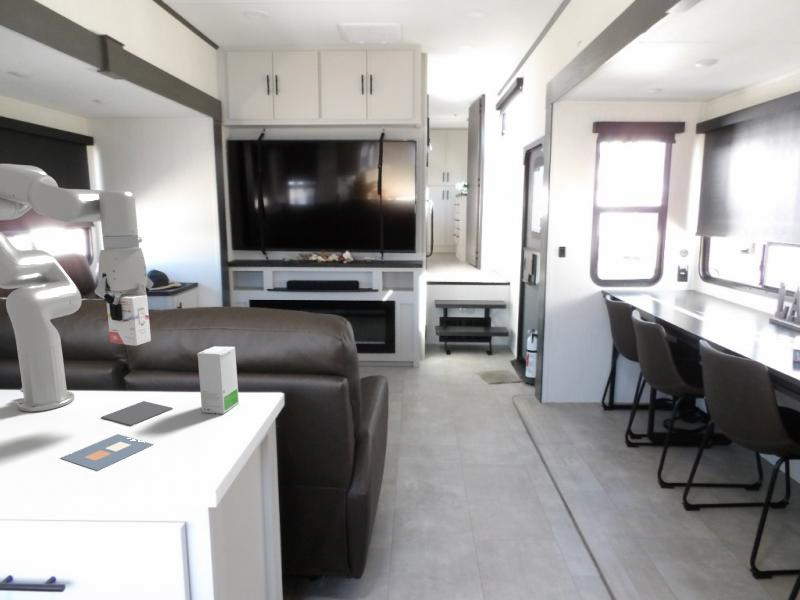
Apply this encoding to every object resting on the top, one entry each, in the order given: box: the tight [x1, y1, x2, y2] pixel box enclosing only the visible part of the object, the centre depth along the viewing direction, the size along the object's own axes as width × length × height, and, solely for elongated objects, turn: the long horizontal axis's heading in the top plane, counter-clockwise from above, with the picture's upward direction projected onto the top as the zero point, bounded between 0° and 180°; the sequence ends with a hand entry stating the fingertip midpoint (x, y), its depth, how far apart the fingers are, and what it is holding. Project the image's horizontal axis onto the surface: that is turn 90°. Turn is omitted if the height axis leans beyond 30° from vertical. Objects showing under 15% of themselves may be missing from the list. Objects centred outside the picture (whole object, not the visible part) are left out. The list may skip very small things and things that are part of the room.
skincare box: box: [196, 346, 240, 415], centre depth 136 cm, size 8×7×16 cm
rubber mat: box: [100, 400, 174, 427], centre depth 134 cm, size 11×12×1 cm
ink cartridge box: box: [105, 283, 152, 347], centre depth 130 cm, size 9×5×15 cm, turn 71°
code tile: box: [60, 433, 154, 472], centre depth 113 cm, size 12×13×1 cm
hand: (128, 317), depth 130 cm, fingers closed on ink cartridge box, 5 cm apart
